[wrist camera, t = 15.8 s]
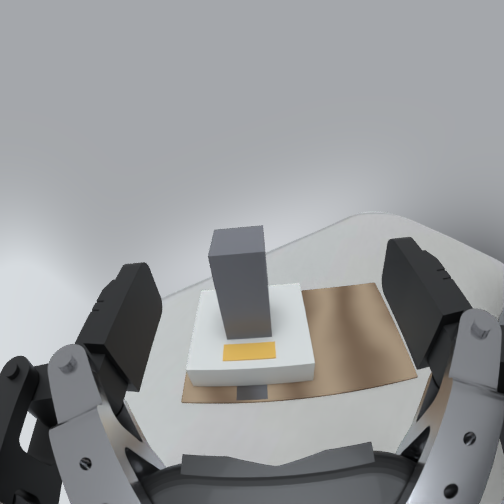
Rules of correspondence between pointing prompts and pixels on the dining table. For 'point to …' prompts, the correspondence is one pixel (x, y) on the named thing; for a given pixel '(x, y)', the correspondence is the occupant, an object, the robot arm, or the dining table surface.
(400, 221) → the dining table surface
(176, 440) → the dining table surface
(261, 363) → the block on square base
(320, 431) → the dining table surface
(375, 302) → the subfloor panel
